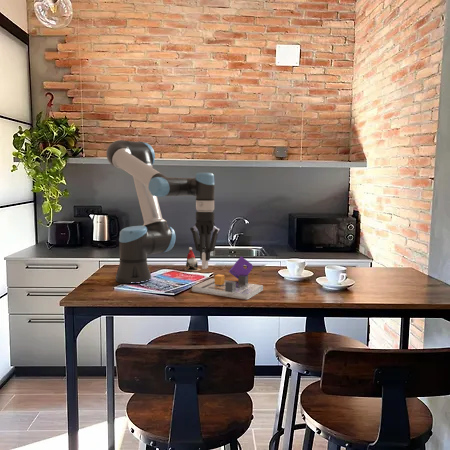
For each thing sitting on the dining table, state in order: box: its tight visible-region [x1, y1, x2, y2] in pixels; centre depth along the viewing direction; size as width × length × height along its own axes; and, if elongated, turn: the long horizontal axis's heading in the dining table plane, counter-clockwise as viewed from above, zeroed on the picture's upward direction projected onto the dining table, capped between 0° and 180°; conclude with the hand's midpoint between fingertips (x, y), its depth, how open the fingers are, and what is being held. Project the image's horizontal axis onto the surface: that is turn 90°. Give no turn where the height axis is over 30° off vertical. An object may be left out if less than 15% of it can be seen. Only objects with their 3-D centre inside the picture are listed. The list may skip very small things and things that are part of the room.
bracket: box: [228, 256, 253, 280], centre depth 184 cm, size 12×7×7 cm
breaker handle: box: [214, 273, 226, 285], centre depth 173 cm, size 3×3×4 cm
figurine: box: [184, 246, 202, 272], centre depth 211 cm, size 8×10×12 cm
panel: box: [191, 274, 264, 301], centre depth 172 cm, size 24×16×6 cm, turn 63°
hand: (205, 268), depth 176 cm, fingers closed
